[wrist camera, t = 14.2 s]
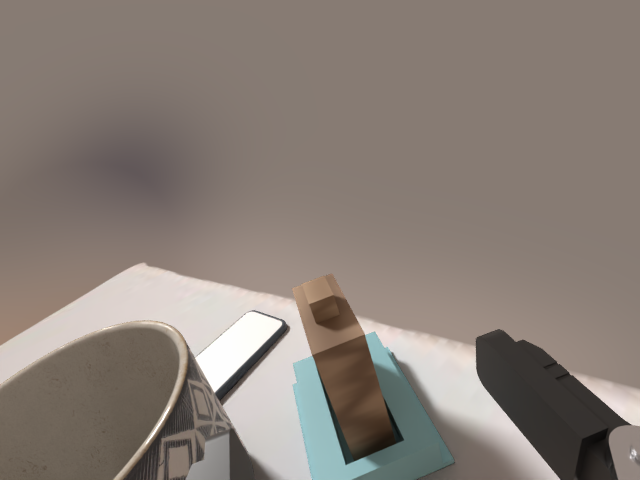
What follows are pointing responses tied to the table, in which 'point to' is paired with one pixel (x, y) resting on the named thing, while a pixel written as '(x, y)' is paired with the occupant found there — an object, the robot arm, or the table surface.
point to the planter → (109, 409)
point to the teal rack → (404, 414)
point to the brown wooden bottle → (344, 366)
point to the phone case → (239, 349)
